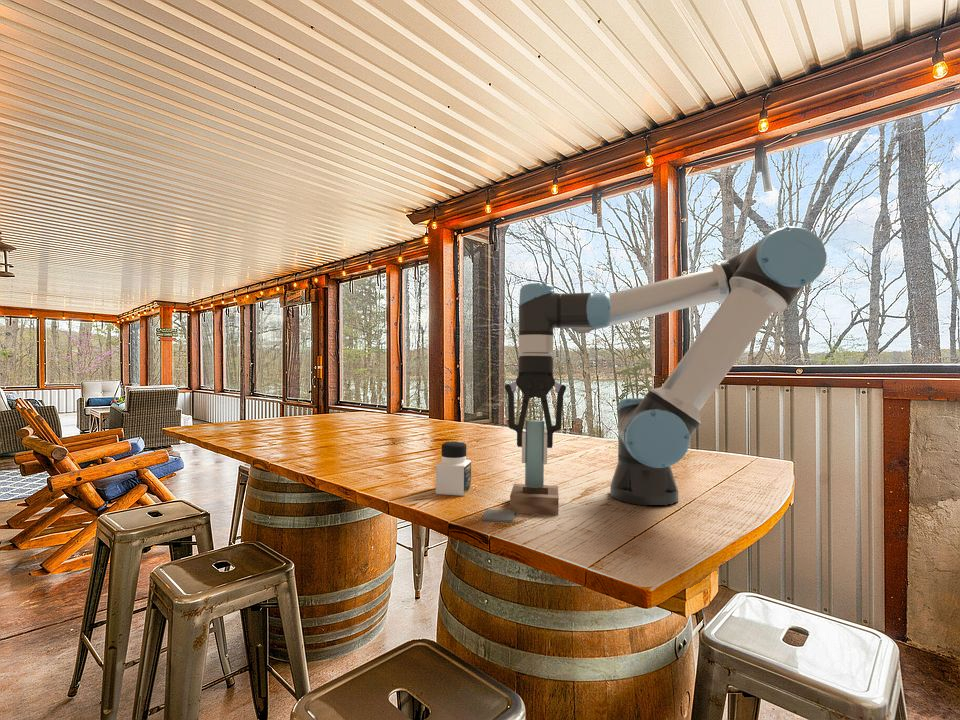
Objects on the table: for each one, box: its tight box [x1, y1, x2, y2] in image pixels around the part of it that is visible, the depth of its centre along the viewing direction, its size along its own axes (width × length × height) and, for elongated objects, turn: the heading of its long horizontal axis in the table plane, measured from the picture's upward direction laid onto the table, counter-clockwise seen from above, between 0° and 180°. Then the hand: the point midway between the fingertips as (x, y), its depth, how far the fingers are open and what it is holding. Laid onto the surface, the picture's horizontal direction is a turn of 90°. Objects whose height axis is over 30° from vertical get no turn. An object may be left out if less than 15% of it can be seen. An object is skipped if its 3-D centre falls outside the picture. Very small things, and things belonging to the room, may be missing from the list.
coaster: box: [481, 508, 516, 523], centre depth 95 cm, size 6×6×1 cm
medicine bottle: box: [435, 440, 472, 497], centre depth 114 cm, size 7×7×12 cm
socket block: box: [509, 483, 560, 516], centre depth 102 cm, size 10×10×4 cm
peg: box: [524, 419, 545, 488], centre depth 102 cm, size 4×4×14 cm
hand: (534, 462), depth 102 cm, fingers closed on peg, 4 cm apart
